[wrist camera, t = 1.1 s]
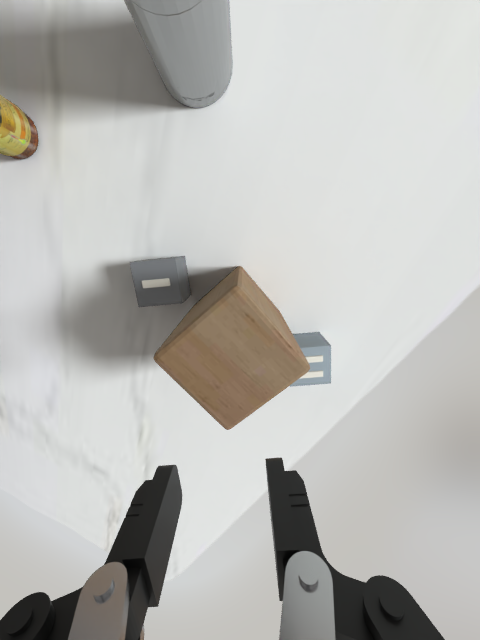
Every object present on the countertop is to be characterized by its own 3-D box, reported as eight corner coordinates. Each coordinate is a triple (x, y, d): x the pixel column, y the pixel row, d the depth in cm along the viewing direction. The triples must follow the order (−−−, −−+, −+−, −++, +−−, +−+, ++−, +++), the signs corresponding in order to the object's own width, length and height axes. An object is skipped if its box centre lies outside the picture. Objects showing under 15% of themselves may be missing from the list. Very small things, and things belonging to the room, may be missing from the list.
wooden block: (234, 350, 43) (227, 434, 24) (192, 306, 41) (149, 359, 22) (280, 312, 42) (314, 370, 22) (239, 264, 39) (237, 282, 20)
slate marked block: (282, 335, 43) (288, 349, 37) (318, 331, 42) (331, 346, 36) (284, 368, 44) (290, 387, 38) (319, 365, 44) (331, 384, 38)
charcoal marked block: (146, 259, 40) (128, 262, 33) (185, 256, 39) (174, 257, 33) (153, 298, 41) (138, 307, 35) (190, 295, 41) (181, 303, 35)
